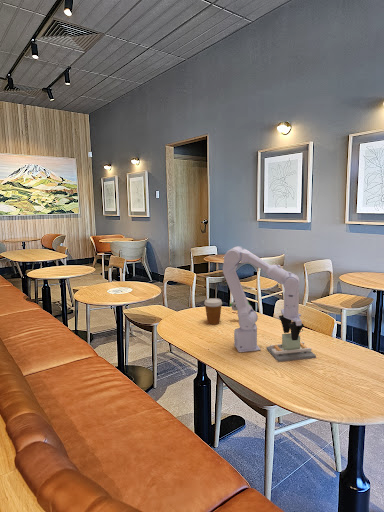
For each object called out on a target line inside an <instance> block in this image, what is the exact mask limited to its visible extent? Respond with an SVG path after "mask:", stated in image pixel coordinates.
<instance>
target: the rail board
mask: <svg viewBox="0 0 384 512" xmlns="http://www.w3.org/2000/svg"><path fill="white" fill-rule="evenodd" d="M265 347H266V350H267V352H268V353H270V354H271V356H272V357H273V359H275V360H276V362H277V363H279V362H280V363H281V362H290V361H298V360H299V361H300V360H307V359H316V358H317V356H316V354H315V353H314V352H313V351H312V347H308V346H306V345H305V341H300V349H294V350H284V349H283V348H282V343H279V344H271V345H269V346H265Z"/></svg>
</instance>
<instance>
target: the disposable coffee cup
mask: <svg viewBox="0 0 384 512" xmlns="http://www.w3.org/2000/svg"><path fill="white" fill-rule="evenodd" d="M203 304H204V307H205V312H206V313H205V314H206V321H207V324H209V325H214V326H215V325H218V324H221V323H220V322H221V312H222V305H223V302H222V299H220V298H214V297H213V298H211V297H210V298H207V299H205V300H204V303H203Z"/></svg>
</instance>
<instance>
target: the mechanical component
mask: <svg viewBox="0 0 384 512" xmlns="http://www.w3.org/2000/svg"><path fill="white" fill-rule="evenodd" d="M248 303H249V305H250V306H251V303H250V302H248ZM229 307H231V309H232V311H234V312H236V311H237V314H238V309H237V306H236V303H235V301H232V302H230V303H229ZM237 318H238V321H239V317H238V316H237Z"/></svg>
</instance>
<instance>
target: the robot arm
mask: <svg viewBox="0 0 384 512" xmlns="http://www.w3.org/2000/svg"><path fill="white" fill-rule="evenodd" d="M247 263H248V264H250V265H253V266H255V267H256V268H258V269H260V270H262V271H263V272H265V273H266V275H267V277H268V278H270V279H271V280H273V281H275V282H276V283H278V284H280V285H282V286H283V288H284V293H283V308H281V309H280V314H281V315H278V318H279V321H280V323H281V326H282V330H283V334H288V333H291V338H292V340H298V337H299V336H300V333H301V332H302V329H303V327H304V326H305V324H303V322H302V319H301V318H300V317H301V316H302V315H301V313H299V305H300V304H299V302H300V301H299V300H300V299H299V298H300V293H299V291H300V289H299V288H300V283H301V282H300V280H301V279H300V278H299V276H298V275H297V274H296V273H293V272H292V271H290V270H289V271H287V270H286V269H284V268H282V266H281V265H280V264H274V263H273V264H270V263H268V262H266V261H265V260H264V259H262V258H260V257H259V256H257V255H255V254H254V253H252V252H251V251H249V250H248V249H246V248H243V246H241V245H239V246H237V245H236V246H233V247H232V248H231V249H228V250H227V251H226V252H225V254H224V256H223V263H222V273H223V276H224V278H225V281H226V283H227V286H228V288H229V291H230V293H231V295H232V298H233V300H234V301H233V302H235V303H236V305H235V307H236V306H237V309H238V311H237V312H238V313H237V318H238V317H239V320H238V325H239V327H237V328H235V329H234V332H233V335H234V336H233V338H234V340H233V342H234V343H233V346H234V348H236V351H238V353H243V352H244V353H245V352H255V351H261V348H260V346H259V345H258V325H257V324H256V323H257V321H258V320H259V319H258V313H257V312H256V311H255V310H254V309H253V306H252V305H251V304H250V305H249V303H250V302H249V300H248V299H247V296H246V293H245V291H244V288H243V286H242V284H241V281H240V278H239V276H238V274H237V271H236V270H237V268H238V266H239V264H247Z"/></svg>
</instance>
